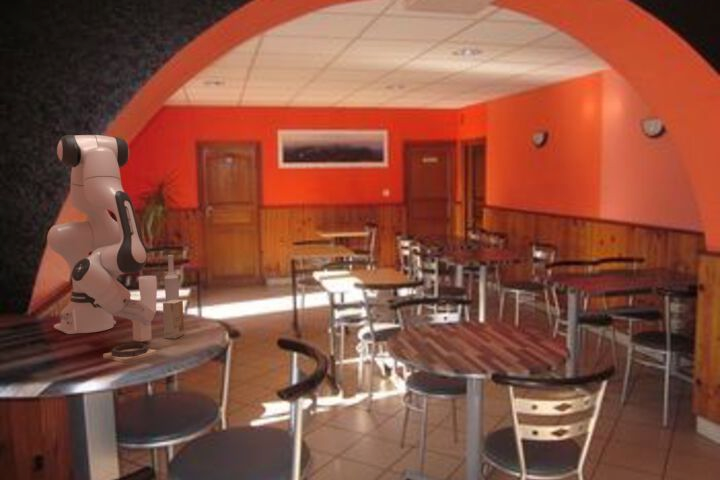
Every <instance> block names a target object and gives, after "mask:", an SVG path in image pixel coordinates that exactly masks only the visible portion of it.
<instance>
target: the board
mask: <svg viewBox="0 0 720 480" xmlns="http://www.w3.org/2000/svg"><path fill="white" fill-rule="evenodd" d="M157 354H158V350H157V349H152V348H149V344H147V343H143V342H129V343H123V344H119V345H115V346H113V347H112V349H111V350H110V351H109V352H106V353H103V354H102V357H103V358H104V359H109V360H113V361H117V362H120V363H125V364H128V363H130V362H133V361H134V362H135V361H137V360H140V359H144V358H147V357H150V356H153V355H157Z"/></svg>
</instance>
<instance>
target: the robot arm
mask: <svg viewBox="0 0 720 480" xmlns="http://www.w3.org/2000/svg"><path fill="white" fill-rule="evenodd" d="M56 152H57V153H56V154H57V156H58V159H59V162H60V163H61V164H62V165H64V166H66V167H70V168H71V174H70V197H69V198H70V204H71V206H72V207H73V208H74V209H75V210H76V211H78V212H81V213H83V214H85V215H86V220H85V221H69V222H67V221H66V222H64V223H59V224H55V225H53V226H51V227H50V229H49V230H48V233H47V236H46V241H47V245H48V246H49V249H51V250H52V251H53V252H54V253H56V254H58V255H59V256H60V257H61V258H63V259H64V260H65V262H66V263H67V265H68V267H69V270H70V274H71V279H72V281H71V282H72V291H71V292H69V296H70V302H69V303H68V304H67V305H66V306H65V307H64V308H63V309H62V310H61V311H60V314H59V318H60V322H58V323H56V324H53V328H54V329H55V330H57V331H61V332H62V333H65V334H66V335H75V334H89V333H97V332H102V331H106V330H110V329H112V328H114V327H115V326H114V325H116V324H117V321H116V320H114V317H120V318H125V319H127V320H129V321H131V322H133V320H138V321H142V322H143V324H144V325H146V326H149V325H150V324H151V325H152V321H153V319H154V317H155V316H156V313H155V312H154V311H153V310H151V309H150V308H149V307H148V306H146V305H145V304H144V303H142V302H141V300H140V301H139V300H136V299H131V292H130V291H129V290H128V289H127V288H126V287H125V286H124V285H123V284H122V283H121V282H120V281H118V280H117V277H118V276H120V275H125V274H126V275H127V274H128V275H129V274H137V273H139V272H141V271H142V270H143V269H144V267H145V266H146V263H147V260H148V252H147V250H146V249H147V248H146V247H145V245H144V242H143V240H142V237H141V233H140V227H139V224H138V219H137V216H136V211H135V207H134V204H133V201H132V198H131V197H130V195H129V194H128V193H127V192H125V190H124V188H123V185H122V178H121V172H120V171H121V170H120V168H123V167H125V166H126V165H127V163H128V161H129V158H130V148H129V145H128V142H127V141H126V139H124V138H122V137H117V136H108V135H100V134H81V135H80V134H79V135H77V134H76V135H74V134H68V135H63V136H61V138H60V139H59V141H58V144H57V147H56ZM108 211H110V212H112V214H114V216H115V217H116V220H115V219H114V218H112V216H111V214H110V212H108ZM89 253H90V255H89ZM132 319H133V320H132Z"/></svg>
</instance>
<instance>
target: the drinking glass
mask: <svg viewBox="0 0 720 480" xmlns="http://www.w3.org/2000/svg"><path fill="white" fill-rule="evenodd" d="M157 281H158V280H157V275H144V276H143V275H142V276H139V277H138V288H139V289H138V290H139V296H140V302H142V303H144V304H145V305H146V306H148V307H149V308H150V309H151V310H153V311H154V312H155V314H156V313H157V294H158V292H157V291H158V282H157Z"/></svg>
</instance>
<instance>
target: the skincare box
mask: <svg viewBox="0 0 720 480" xmlns="http://www.w3.org/2000/svg"><path fill="white" fill-rule="evenodd" d="M183 302H184V301H183V300H182V299H179V300H170V301H167V302H166V301H165V302H162V312H163V317H162V318H163V338H164V339H175V340H176V339H178V338H179V337H181V336H184V335H185V331H184V330H185V328H184V327H185V326H184V303H183ZM183 334H184V335H183Z"/></svg>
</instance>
